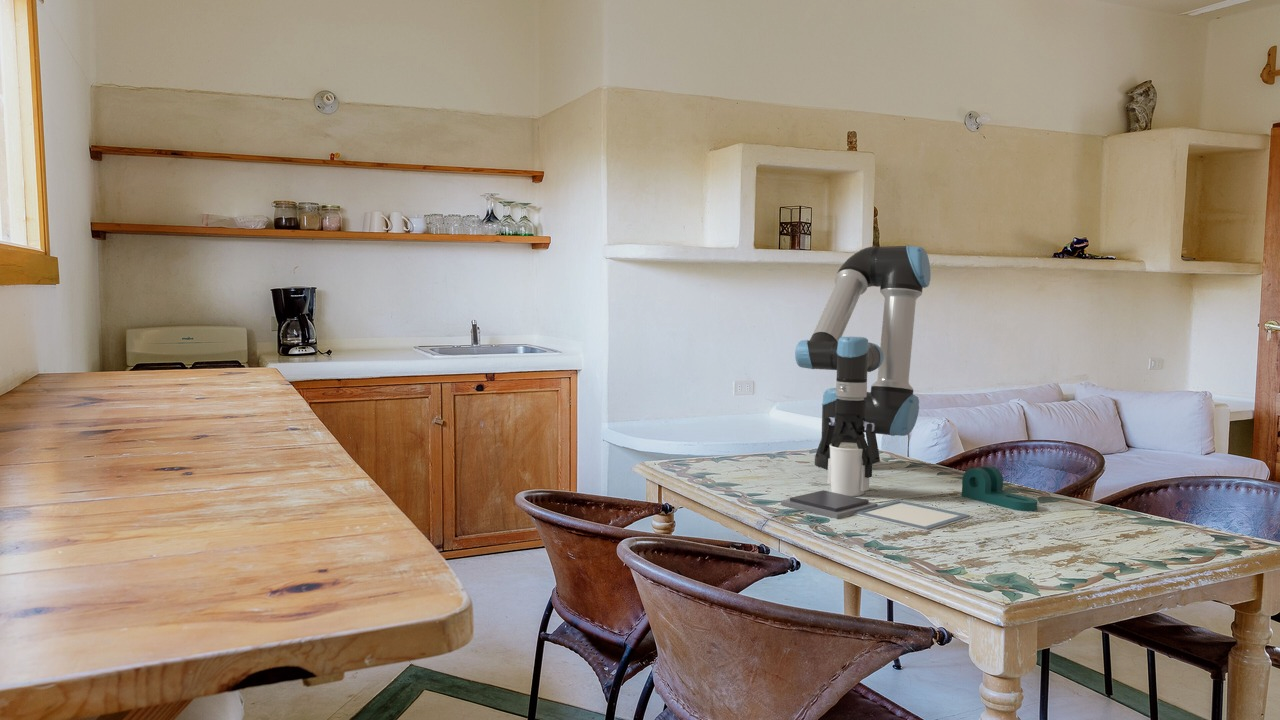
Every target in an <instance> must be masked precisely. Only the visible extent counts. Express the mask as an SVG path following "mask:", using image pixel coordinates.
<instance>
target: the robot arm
mask: <svg viewBox="0 0 1280 720" xmlns="http://www.w3.org/2000/svg"><path fill="white" fill-rule="evenodd" d="M930 282H931V265H930V259H929V256H928V253H927V251H926V249H925V248H923V247H922V246H918V245H917V246H916V245H915V246H913V245H908V244H907V245H896V246H895V245H893V246H892V245H890V246H888V245H887V246H868V247H865V248H862V249H860V250H858V251H857V252H855V253H853V254H852V255H851V256H850V257H848V258H847V259H846V260H845V261H844V263H842V265H841V266H840V268H839V269H838V270H837V272H836V275H835V277H834V284H835V285H834V288H833V289H832V291H831V293H830V295H829V299H828V301H827V303H826V304H825V308H824V309H823V311H822V314H821V315H820V317H819V320H818V321H817V325H816V327H815V329H814V330H813V333H812V335H811V337H810V339H802V340H800V341H798V342H797V344H796V347H795V351H794V357H795V359H794V360H795V361H796V362H795V363H796V364H797V366H798V367H799V368H802V369H809V370H826V371H827V370H830V371H831V370H832V371H836V380H835V381H836V385H835V387H833V388H832V387H831V388H827V389H825V391H824V392H823V397H822V403H821V406H822V408H821V410H822V411H821V438H820V441H819V444H818V447H817V450H816V452H815V455H814V465H815V466H816V467H819V468H823V469H825V470H826V471H827V481H826V482H827V484H828V485H831V479H830V447H829V445H830V444H832V446H833V447H837V448H838V447H839V445H840V443H841V442H848V443H857V446H858V449H863V451H862V459H863V462H864V463H863V464H862V465H861V479H860V491H865V492H866V491H868V490H869V489H870V479H871V478H872V476H873V466H874V464H877V463H880V461H881V458H880V451H879V446H878V441H877V434H879V435H887V436H892V437H894V436H900V437H904V436H908V435H909V434H910V433H911V432H913V430H914V427H915V426H916V423H917V420H918V417H919V411H920V399H919V397H918V395H915V394H914V388H913V387H912V385H911V384H910V383H909V380H910V371H911V370H910V368H911V358H912V349H913V348H912V347H913V339H914V338H913V337H914V336H913V335H914V326H915V314H916V305H917V303H916V302H917V300H918V298H919V297H922V295H923V289H926V288H928V287H929V286H930V284H931V283H930ZM869 287H870V288H871V287H877V288H878V287H879V288H880V290H879V292H880V294H881V295H882V296H883V297H884V303H883V314H882V315H883V316H882V327H881V336H880V337H881V338H880V346H879V345H878V344H876V343H874V342H869V339H868V338H866V337H864V336H844V333H845V330H846V328H847V326H848V323H849V322H850V319H851V317H852V315H853V312H854V310H855V308H856V306H857V303H858V301H859V299H860V298H861V297H860V296H861V295H863V294H864V293H865V292H866V291H867V289H868V288H869ZM877 369H878V370H877ZM876 370H877V379H876V381H875V382H874V383H872V384H871V387H870V392H869V391H868V373H871V372H873V371H876Z"/></svg>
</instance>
